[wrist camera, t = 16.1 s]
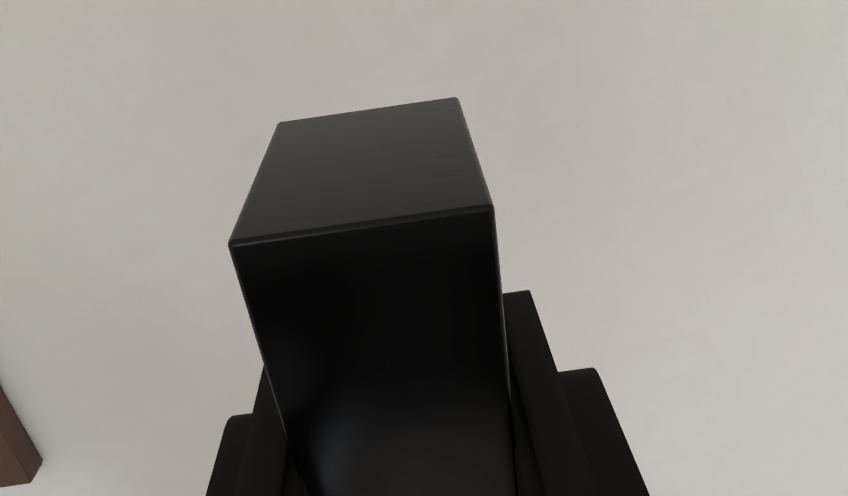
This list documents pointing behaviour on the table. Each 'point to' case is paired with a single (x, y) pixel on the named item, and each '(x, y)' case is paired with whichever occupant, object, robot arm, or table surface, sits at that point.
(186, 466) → the table surface
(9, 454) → the board
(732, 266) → the table surface
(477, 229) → the table knife
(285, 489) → the robot arm
